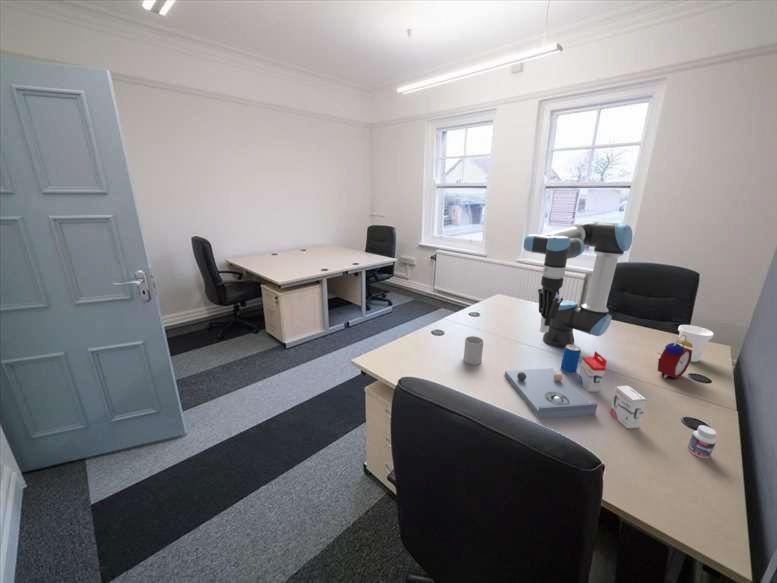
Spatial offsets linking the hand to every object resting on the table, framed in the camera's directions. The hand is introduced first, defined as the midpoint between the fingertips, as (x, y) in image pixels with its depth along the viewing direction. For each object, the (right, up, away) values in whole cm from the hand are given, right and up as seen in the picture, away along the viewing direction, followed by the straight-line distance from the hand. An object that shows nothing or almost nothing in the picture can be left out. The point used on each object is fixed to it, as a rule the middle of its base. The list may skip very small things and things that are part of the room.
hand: (543, 331), depth 132 cm
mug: (-23, -17, +26) cm, 38 cm away
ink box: (+21, -30, -16) cm, 40 cm away
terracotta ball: (+7, -19, +3) cm, 21 cm away
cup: (+84, -17, +27) cm, 90 cm away
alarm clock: (+62, -21, +13) cm, 67 cm away
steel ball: (+1, -26, -8) cm, 27 cm away
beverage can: (+19, -20, +16) cm, 32 cm away
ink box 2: (+21, -24, +4) cm, 32 cm away
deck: (0, -25, -1) cm, 25 cm away
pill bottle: (+35, -35, -30) cm, 58 cm away
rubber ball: (-8, -19, +3) cm, 21 cm away
